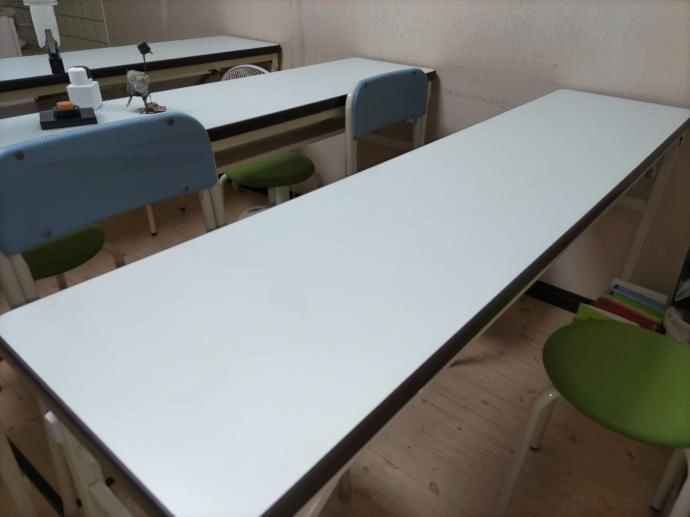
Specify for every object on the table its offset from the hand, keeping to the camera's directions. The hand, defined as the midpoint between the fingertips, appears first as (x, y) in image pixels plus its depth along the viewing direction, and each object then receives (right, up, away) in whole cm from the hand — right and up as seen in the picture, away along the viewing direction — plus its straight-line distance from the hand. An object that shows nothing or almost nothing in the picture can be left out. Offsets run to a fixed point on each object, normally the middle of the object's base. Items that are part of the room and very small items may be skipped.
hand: (59, 73), depth 138 cm
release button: (-1, -8, +5) cm, 10 cm away
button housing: (-1, -11, +7) cm, 13 cm away
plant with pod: (+17, -5, +18) cm, 26 cm away
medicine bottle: (-2, -4, +20) cm, 20 cm away
